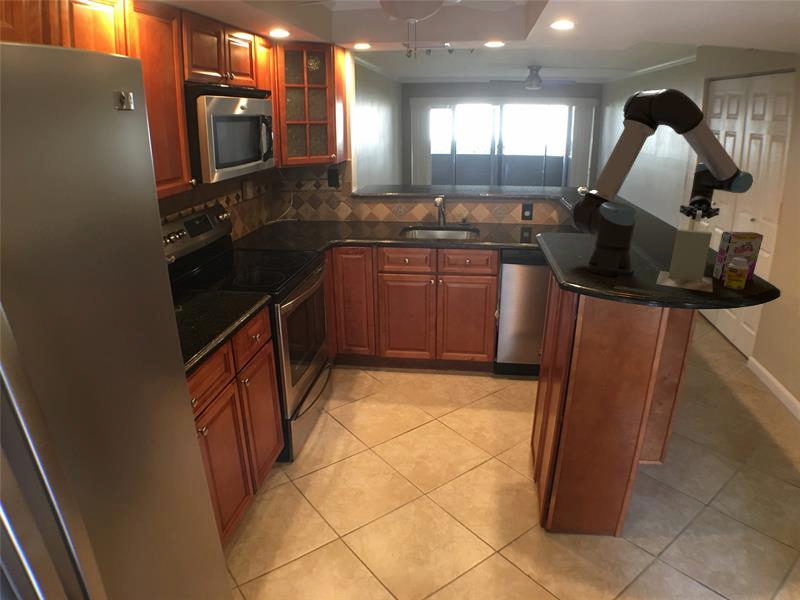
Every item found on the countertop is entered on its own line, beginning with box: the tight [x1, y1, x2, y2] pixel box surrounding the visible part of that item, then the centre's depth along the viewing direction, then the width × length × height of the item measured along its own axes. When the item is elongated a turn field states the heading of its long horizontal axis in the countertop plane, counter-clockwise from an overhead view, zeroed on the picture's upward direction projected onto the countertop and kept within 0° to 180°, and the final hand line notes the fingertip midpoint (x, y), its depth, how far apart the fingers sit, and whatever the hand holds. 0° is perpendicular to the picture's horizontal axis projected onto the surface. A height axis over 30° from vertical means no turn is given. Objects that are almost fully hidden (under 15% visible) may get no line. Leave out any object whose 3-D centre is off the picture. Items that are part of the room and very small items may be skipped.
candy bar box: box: [712, 231, 764, 281], centre depth 180 cm, size 11×5×16 cm, turn 92°
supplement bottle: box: [723, 258, 749, 291], centre depth 170 cm, size 6×6×10 cm
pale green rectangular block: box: [668, 228, 713, 282], centre depth 177 cm, size 10×3×16 cm, turn 61°
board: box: [655, 270, 714, 293], centre depth 177 cm, size 16×18×1 cm
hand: (698, 217), depth 182 cm, fingers closed
